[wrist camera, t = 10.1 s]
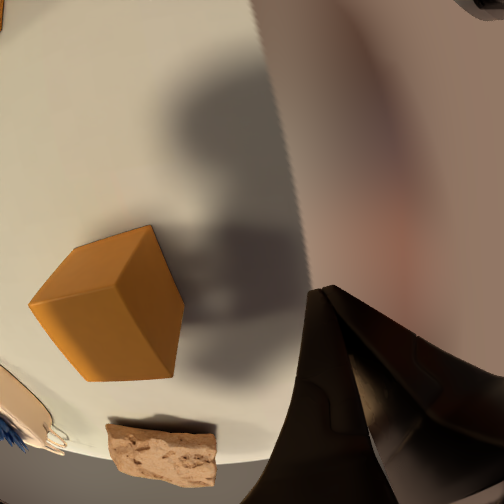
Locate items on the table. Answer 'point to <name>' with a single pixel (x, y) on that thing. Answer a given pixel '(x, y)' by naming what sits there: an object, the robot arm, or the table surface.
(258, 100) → the table surface
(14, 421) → the box with blue lotus
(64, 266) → the ochre block middle
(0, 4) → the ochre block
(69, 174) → the table surface
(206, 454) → the stone
